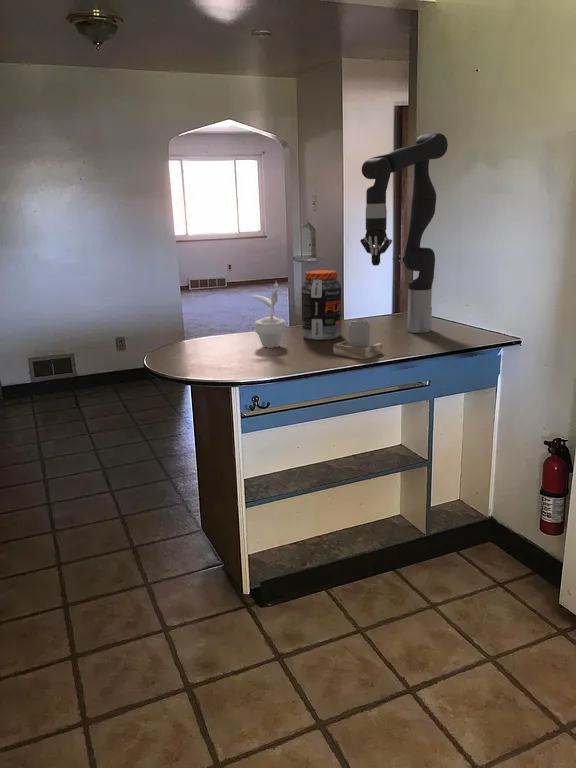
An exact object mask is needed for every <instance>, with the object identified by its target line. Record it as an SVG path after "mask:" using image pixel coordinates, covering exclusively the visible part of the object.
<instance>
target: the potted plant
mask: <svg viewBox="0 0 576 768" xmlns="http://www.w3.org/2000/svg"><path fill="white" fill-rule="evenodd" d="M273 286H274V288H275V289H274V290H273V292H272V293H271V297H270V298H269V297H267V296H263V295H257V294H251V296H252V297H253V298H254V299H256V300H259V301H260V302H262V303H263V304H265V306H267V307H268V308H270V315H269V316H266V317H262V318H260V319H257V320H255V321H254V331H255V333H256V334H257V336H258V337H259V340H260V342H261V345H262V347H264V348H265V347H267V348H266V349H275V348H274V347H276V348H278V347H279V346H280V345H281V342H282V339H283V336H284V333H286V332H287V329H286V328H287V324H286V322H287V321H286V320H285V319H284V318H278V317H276V315H275V314H274V313H275V305H276V304H277V303H278V292H279V293H281V292H282V290H281V287H278V286H279V284H278V282H277V281H275V283H274V284H273ZM274 315H275V316H274Z"/></svg>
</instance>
